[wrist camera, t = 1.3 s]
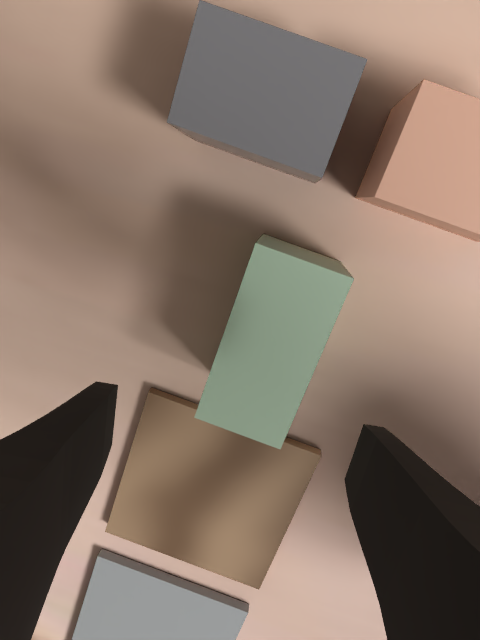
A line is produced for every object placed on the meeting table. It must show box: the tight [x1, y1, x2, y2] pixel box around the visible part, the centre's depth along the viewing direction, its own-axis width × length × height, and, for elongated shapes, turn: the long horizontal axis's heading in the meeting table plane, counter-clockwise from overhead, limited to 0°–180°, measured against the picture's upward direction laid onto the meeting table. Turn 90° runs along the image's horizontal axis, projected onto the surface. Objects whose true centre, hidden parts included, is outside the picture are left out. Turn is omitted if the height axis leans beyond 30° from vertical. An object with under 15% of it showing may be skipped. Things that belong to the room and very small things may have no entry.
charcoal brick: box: [167, 0, 367, 183], centre depth 18 cm, size 6×4×5 cm, turn 71°
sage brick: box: [194, 234, 354, 449], centre depth 20 cm, size 4×8×5 cm, turn 161°
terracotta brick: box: [355, 79, 480, 242], centre depth 17 cm, size 6×4×5 cm, turn 71°
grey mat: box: [72, 549, 249, 640], centre depth 29 cm, size 10×10×1 cm
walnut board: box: [105, 388, 321, 589], centre depth 25 cm, size 10×10×1 cm
